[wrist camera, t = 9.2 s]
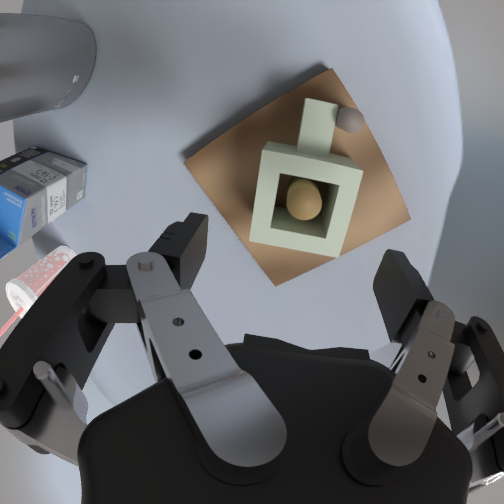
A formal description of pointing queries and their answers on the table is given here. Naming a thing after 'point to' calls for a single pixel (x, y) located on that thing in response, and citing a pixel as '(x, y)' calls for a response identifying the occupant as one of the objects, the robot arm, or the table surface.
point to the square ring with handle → (312, 167)
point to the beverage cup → (35, 282)
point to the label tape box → (36, 193)
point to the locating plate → (283, 127)
